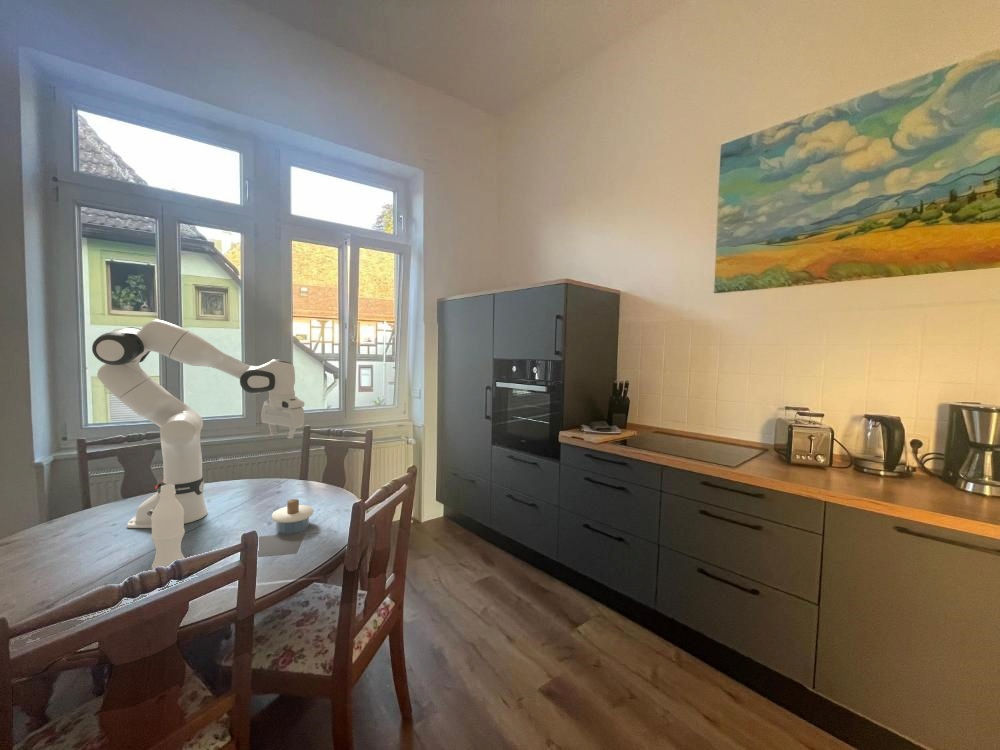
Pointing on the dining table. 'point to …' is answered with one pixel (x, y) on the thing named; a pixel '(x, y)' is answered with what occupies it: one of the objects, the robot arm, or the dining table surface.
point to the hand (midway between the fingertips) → (282, 436)
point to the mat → (279, 544)
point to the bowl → (292, 526)
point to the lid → (292, 512)
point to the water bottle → (167, 527)
